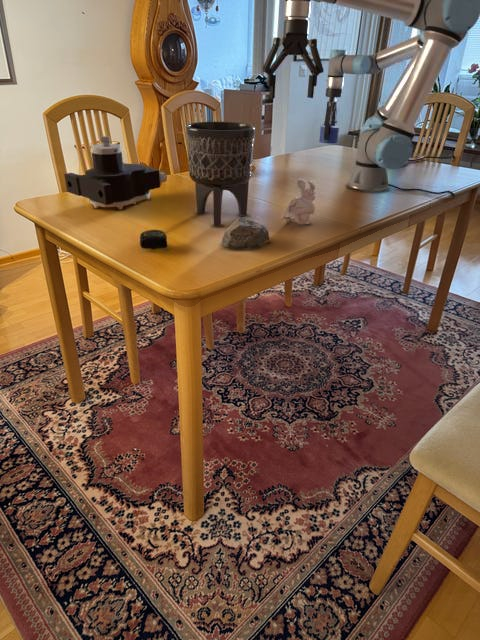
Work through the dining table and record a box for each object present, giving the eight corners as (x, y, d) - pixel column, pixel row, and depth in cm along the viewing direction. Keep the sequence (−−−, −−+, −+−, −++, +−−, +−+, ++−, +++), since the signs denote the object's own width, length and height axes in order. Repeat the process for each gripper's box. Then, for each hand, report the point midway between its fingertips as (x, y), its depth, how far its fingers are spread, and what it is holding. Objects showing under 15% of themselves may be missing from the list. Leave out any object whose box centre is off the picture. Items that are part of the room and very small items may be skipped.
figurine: (321, 218, 142) (325, 177, 135) (298, 231, 131) (302, 187, 125) (298, 213, 146) (301, 173, 139) (274, 225, 135) (277, 182, 128)
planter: (175, 218, 139) (170, 125, 125) (214, 204, 153) (213, 119, 139) (227, 232, 129) (227, 132, 116) (263, 215, 143) (268, 125, 130)
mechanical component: (57, 135, 140) (135, 127, 160) (69, 203, 151) (140, 187, 171) (98, 144, 128) (177, 134, 148) (107, 217, 139) (180, 198, 159)
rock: (255, 233, 128) (256, 211, 124) (276, 242, 122) (278, 219, 119) (217, 244, 120) (217, 220, 117) (239, 254, 115) (239, 230, 111)
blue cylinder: (323, 143, 221) (324, 127, 217) (316, 140, 228) (318, 125, 225) (340, 143, 222) (342, 127, 219) (333, 140, 230) (335, 125, 226)
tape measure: (140, 252, 115) (139, 238, 113) (141, 242, 120) (140, 229, 119) (167, 251, 116) (166, 237, 114) (167, 241, 121) (166, 228, 120)
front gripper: (327, 21, 142) (320, 96, 153) (253, 18, 135) (251, 97, 146) (339, 20, 136) (331, 98, 147) (262, 16, 129) (259, 99, 140)
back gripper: (331, 86, 223) (326, 135, 234) (321, 88, 206) (315, 141, 217) (346, 86, 221) (340, 136, 232) (337, 89, 203) (331, 142, 215)
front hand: (291, 98), depth 146 cm, fingers open, 13 cm apart
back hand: (328, 138), depth 225 cm, fingers closed on blue cylinder, 9 cm apart
